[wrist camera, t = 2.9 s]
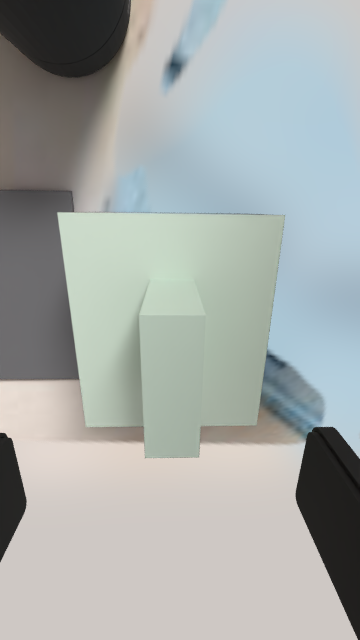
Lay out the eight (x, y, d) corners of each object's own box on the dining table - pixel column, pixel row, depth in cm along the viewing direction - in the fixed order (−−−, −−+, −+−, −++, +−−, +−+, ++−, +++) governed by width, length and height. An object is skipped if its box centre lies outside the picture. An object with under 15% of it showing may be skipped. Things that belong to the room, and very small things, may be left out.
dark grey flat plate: (71, 191, 23) (69, 191, 22) (92, 375, 29) (91, 378, 28) (-110, 188, 22) (-116, 188, 22) (-50, 376, 28) (-53, 379, 28)
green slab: (269, 214, 17) (351, 217, 10) (247, 403, 22) (289, 508, 15) (73, 212, 17) (-13, 213, 9) (94, 404, 22) (52, 512, 14)
